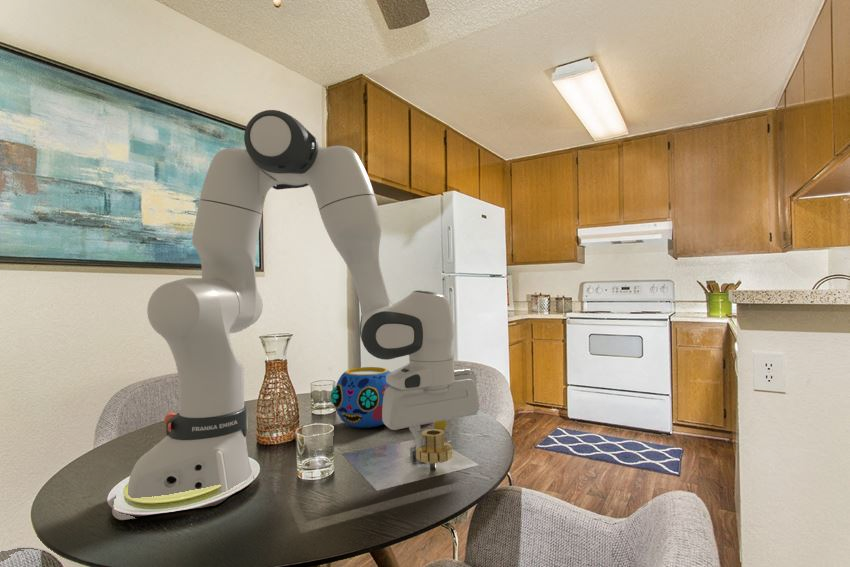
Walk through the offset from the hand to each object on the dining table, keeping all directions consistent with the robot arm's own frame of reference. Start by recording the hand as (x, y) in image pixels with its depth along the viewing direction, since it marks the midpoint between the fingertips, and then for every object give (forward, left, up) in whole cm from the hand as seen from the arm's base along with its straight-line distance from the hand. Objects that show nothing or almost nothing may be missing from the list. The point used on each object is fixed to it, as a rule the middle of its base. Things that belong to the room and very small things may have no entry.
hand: (433, 444), depth 84 cm
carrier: (-2, +7, -6) cm, 10 cm away
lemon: (+14, +19, -6) cm, 24 cm away
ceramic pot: (0, +36, -6) cm, 37 cm away
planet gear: (0, 0, -2) cm, 2 cm away
